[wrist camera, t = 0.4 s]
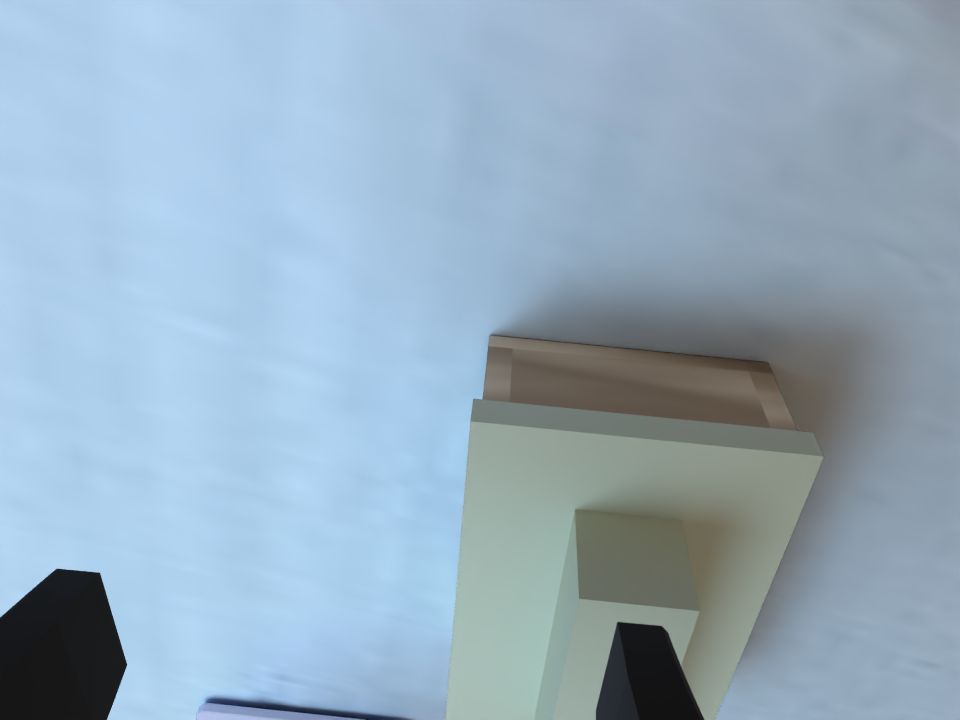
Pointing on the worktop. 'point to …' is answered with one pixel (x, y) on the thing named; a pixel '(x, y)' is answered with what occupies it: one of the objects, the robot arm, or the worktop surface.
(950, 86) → the worktop surface
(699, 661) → the lid
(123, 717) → the worktop surface
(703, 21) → the worktop surface
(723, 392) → the box
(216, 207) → the worktop surface
